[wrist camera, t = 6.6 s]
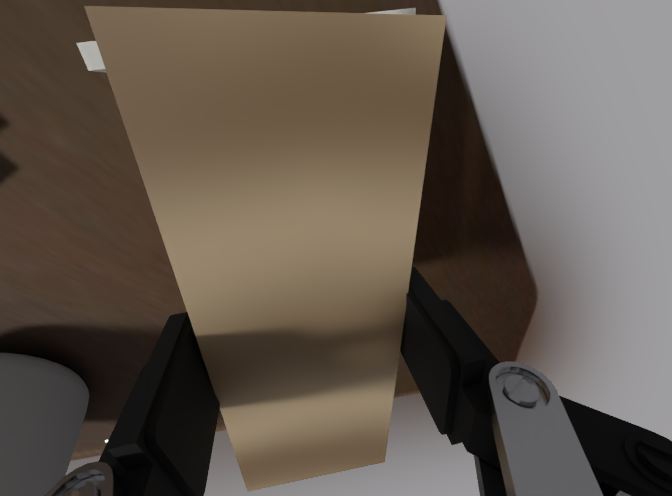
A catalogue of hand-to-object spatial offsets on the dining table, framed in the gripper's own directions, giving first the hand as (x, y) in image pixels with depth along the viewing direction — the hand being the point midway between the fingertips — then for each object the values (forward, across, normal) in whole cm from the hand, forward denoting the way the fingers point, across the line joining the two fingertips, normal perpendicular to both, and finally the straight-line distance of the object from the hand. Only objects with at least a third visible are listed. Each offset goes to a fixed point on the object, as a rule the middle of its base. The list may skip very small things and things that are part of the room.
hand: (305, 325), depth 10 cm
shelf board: (+3, 0, 0) cm, 3 cm away
